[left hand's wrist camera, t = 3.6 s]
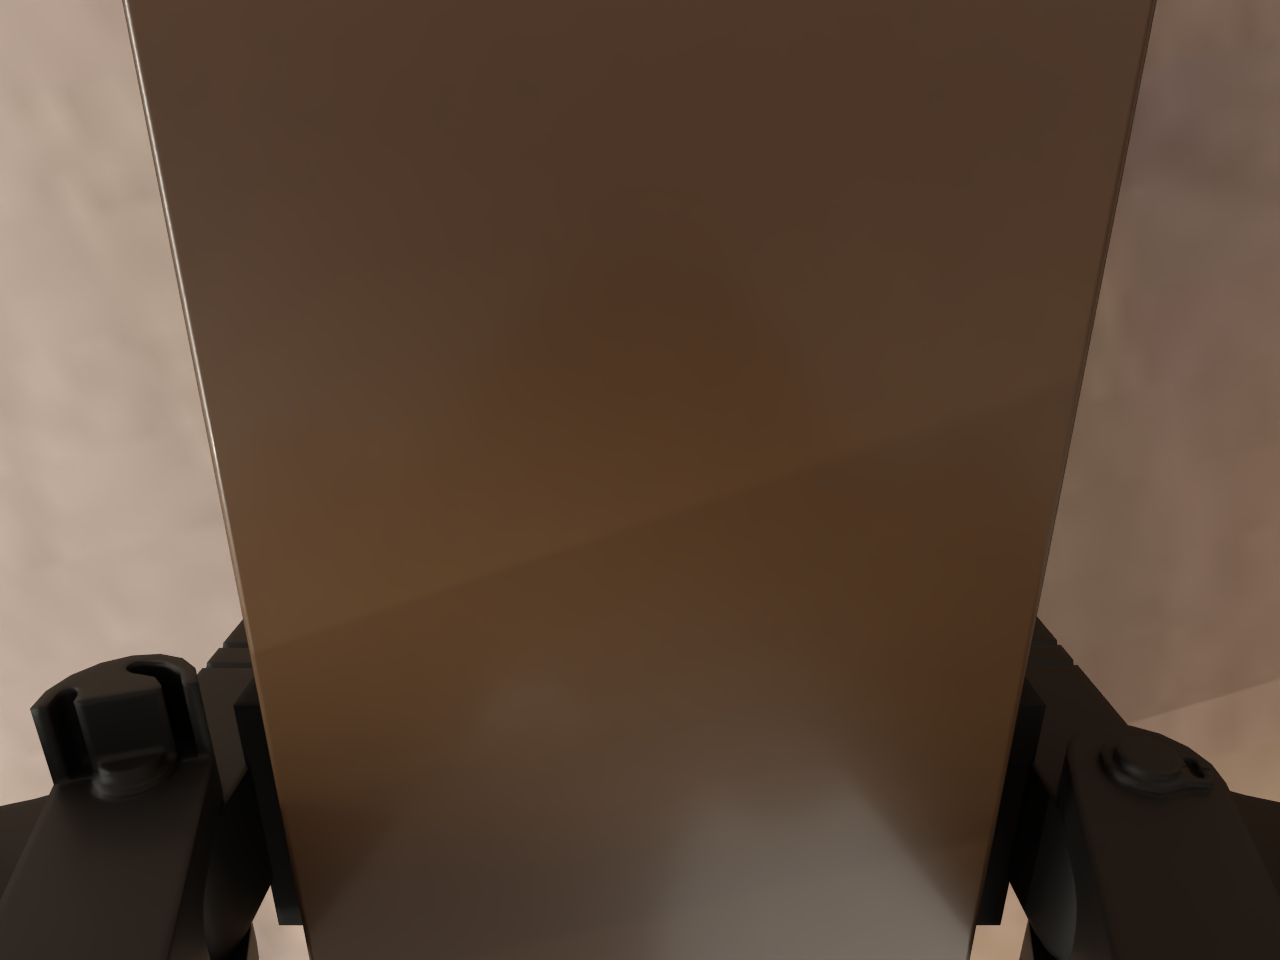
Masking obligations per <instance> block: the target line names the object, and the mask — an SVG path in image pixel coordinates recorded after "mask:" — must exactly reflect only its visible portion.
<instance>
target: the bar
mask: <svg viewBox="0 0 1280 960" xmlns="http://www.w3.org/2000/svg"><path fill="white" fill-rule="evenodd" d="M1156 1H1157V0H122V2H123V7H124V12H125V17H126V22H127V27H128V32H129V38H130V43H131V48H132V53H133V58H134V63H135V68H136V73H137V78H138V84H139V89H140V94H141V99H142V104H143V109H144V114H145V119H146V124H147V130H148V135H149V140H150V145H151V150H152V155H153V160H154V165H155V171H156V176H157V181H158V186H159V191H160V196H161V201H162V206H163V211H164V217H165V222H166V227H167V232H168V237H169V242H170V247H171V252H172V257H173V263H174V268H175V273H176V278H177V283H178V288H179V293H180V298H181V304H182V309H183V314H184V319H185V324H186V329H187V334H188V339H189V344H190V350H191V355H192V360H193V365H194V370H195V375H196V380H197V385H198V390H199V396H200V401H201V406H202V411H203V416H204V421H205V426H206V431H207V437H208V442H209V447H210V452H211V457H212V462H213V467H214V472H215V477H216V483H217V488H218V493H219V498H220V503H221V508H222V513H223V518H224V523H225V529H226V534H227V539H228V544H229V549H230V554H231V559H232V564H233V570H234V575H235V580H236V585H237V590H238V595H239V600H240V605H241V610H242V616H243V621H244V626H245V631H246V636H247V641H248V646H249V651H250V657H251V662H252V667H253V672H254V677H255V682H256V687H257V692H258V697H259V703H260V708H261V713H262V718H263V723H264V728H265V733H266V738H267V743H268V749H269V754H270V759H271V764H272V769H273V774H274V779H275V784H276V790H277V795H278V800H279V805H280V810H281V815H282V820H283V825H284V830H285V836H286V841H287V846H288V851H289V856H290V861H291V866H292V871H293V876H294V882H295V887H296V892H297V897H298V902H299V907H300V912H301V917H302V923H303V928H304V933H305V938H306V943H307V948H308V953H309V958H310V960H970V955H971V950H972V945H973V939H974V934H975V929H976V924H977V919H978V914H979V909H980V904H981V898H982V893H983V888H984V883H985V878H986V873H987V868H988V863H989V857H990V852H991V847H992V842H993V837H994V832H995V827H996V822H997V816H998V811H999V806H1000V801H1001V796H1002V791H1003V786H1004V780H1005V775H1006V770H1007V765H1008V760H1009V755H1010V750H1011V745H1012V739H1013V734H1014V729H1015V724H1016V719H1017V714H1018V709H1019V704H1020V698H1021V693H1022V688H1023V683H1024V678H1025V673H1026V668H1027V663H1028V657H1029V652H1030V647H1031V642H1032V637H1033V632H1034V627H1035V621H1036V616H1037V611H1038V606H1039V601H1040V596H1041V591H1042V586H1043V580H1044V575H1045V570H1046V565H1047V560H1048V555H1049V550H1050V545H1051V539H1052V534H1053V529H1054V524H1055V519H1056V514H1057V509H1058V504H1059V498H1060V493H1061V488H1062V483H1063V478H1064V473H1065V468H1066V463H1067V457H1068V452H1069V447H1070V442H1071V437H1072V432H1073V427H1074V421H1075V416H1076V411H1077V406H1078V401H1079V396H1080V391H1081V386H1082V380H1083V375H1084V370H1085V365H1086V360H1087V355H1088V350H1089V345H1090V339H1091V334H1092V329H1093V324H1094V319H1095V314H1096V309H1097V304H1098V298H1099V293H1100V288H1101V283H1102V278H1103V273H1104V268H1105V262H1106V257H1107V252H1108V247H1109V242H1110V237H1111V232H1112V227H1113V221H1114V216H1115V211H1116V206H1117V201H1118V196H1119V191H1120V186H1121V180H1122V175H1123V170H1124V165H1125V160H1126V155H1127V150H1128V145H1129V139H1130V134H1131V129H1132V124H1133V119H1134V114H1135V109H1136V104H1137V98H1138V93H1139V88H1140V83H1141V78H1142V73H1143V68H1144V62H1145V57H1146V52H1147V47H1148V42H1149V37H1150V32H1151V27H1152V21H1153V16H1154V11H1155V6H1156Z"/></svg>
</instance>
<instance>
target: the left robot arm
mask: <svg viewBox="0 0 1280 960" xmlns="http://www.w3.org/2000/svg"><path fill="white" fill-rule="evenodd" d="M30 710H31V713H32V716H33V719H34V723H35V726H36V729H37V732H38V735H39V739H40V742H41V745H42V748H43V751H44V754H45V758H46V761H47V764H48V767H49V770H50V774H51V777H52V780H53V783H54V786H53V788H52V790H51V792H50V794H49V795H47V796H44V797H40V798H36V799H32V800H27V801H23V802H18V803H13V804H8V805H4V806H0V960H259V955H258V948H257V941H256V936H255V932H254V927H253V923H252V921H253V919H254V917H255V915H256V913H257V911H258V909H259V907H260V905H261V903H262V901H263V899H264V897H265V895H266V893H267V891H268V889H269V887H270V885H271V889H272V893H273V898H274V903H275V908H276V913H277V917H278V922H279V925H303V923H302V917H301V912H300V907H299V902H298V897H297V892H296V887H295V882H294V876H293V871H292V866H291V861H290V856H289V851H288V846H287V841H286V836H285V830H284V825H283V820H282V815H281V810H280V805H279V800H278V795H277V790H276V784H275V779H274V774H273V769H272V764H271V759H270V754H269V749H268V743H267V738H266V733H265V728H264V723H263V718H262V713H261V708H260V703H259V697H258V692H257V687H256V682H255V677H254V672H253V667H252V662H251V657H250V651H249V646H248V641H247V636H246V631H245V626H244V621H243V620H242V621H241V622H240V624H239V625H238V626H237V627H236V628H235V630H234V631H233V632H232V633H231V634H230V636H229V637H228V638H227V639H226V641H225V642H224V643H223V648H219V649H218V650H217V651H216V653H215V654H214V655H213V656H212V657H211V659H210V660H209V661H208V662H207V667H206V668H202V669H201V671H200V672H199V673H198V674H197V673H196V669H195V667H193V666H192V665H191V664H189V663H188V662H187V661H185V660H184V659H183V658H178V657H173V656H168V655H163V654H152V655H135V656H129V657H124V658H120V659H116V660H112V661H107V662H103V663H100V664H97V665H95V666H92V667H90V668H88V669H85V670H83V671H80V672H78V673H75V674H73V675H71V676H69V677H67V678H66V679H64V680H63V681H61V682H60V683H58V684H56V685H55V686H53V687H52V688H50V689H49V690H47V691H46V692H45V693H44V694H43V695H42V696H41V697H40V698H39V699H38V700H37V702H36V703H35V704H34V705H33V706H32V707H31V708H30ZM1009 882H1010V884H1011V886H1012V888H1013V890H1014V892H1015V894H1016V896H1017V898H1018V900H1019V902H1020V904H1021V906H1022V908H1023V910H1024V912H1025V914H1026V916H1027V918H1028V923H1027V927H1026V932H1025V936H1024V941H1023V945H1022V949H1021V954H1020V958H1019V960H1280V802H1275V801H1271V800H1266V799H1261V798H1256V797H1251V796H1247V795H1243V794H1239V793H1235V792H1232V791H1230V790H1229V788H1228V786H1227V784H1226V782H1225V781H1224V780H1223V779H1222V777H1221V776H1220V775H1219V773H1218V772H1217V771H1216V769H1215V768H1214V767H1213V765H1212V764H1211V763H1209V762H1208V761H1206V760H1205V759H1204V758H1202V757H1201V756H1200V755H1198V754H1197V753H1196V752H1194V751H1193V750H1192V749H1190V748H1189V747H1187V746H1185V745H1183V744H1181V743H1179V742H1176V741H1174V740H1172V739H1170V738H1168V737H1166V736H1164V735H1161V734H1159V733H1155V732H1152V731H1148V730H1144V729H1140V728H1137V727H1133V726H1128V725H1127V724H1126V722H1125V721H1124V720H1123V719H1122V718H1121V716H1120V715H1119V714H1118V713H1117V712H1116V710H1115V709H1114V708H1113V707H1112V706H1111V705H1110V703H1109V702H1108V701H1107V700H1106V699H1105V697H1104V696H1103V695H1102V694H1101V693H1100V691H1099V690H1098V689H1097V688H1096V687H1095V685H1094V684H1093V683H1092V682H1091V681H1090V679H1089V678H1088V677H1087V676H1086V675H1085V673H1084V672H1083V671H1082V670H1081V669H1080V667H1079V666H1078V665H1074V664H1073V659H1072V658H1071V657H1070V655H1069V654H1068V653H1067V652H1066V651H1065V649H1064V648H1063V647H1062V646H1061V645H1057V640H1056V639H1055V638H1054V636H1053V635H1052V634H1051V633H1050V632H1049V630H1048V629H1047V628H1046V627H1045V626H1044V624H1043V623H1042V622H1041V621H1040V620H1039V618H1038V617H1037V616H1036V621H1035V627H1034V632H1033V637H1032V642H1031V647H1030V652H1029V657H1028V663H1027V668H1026V673H1025V678H1024V683H1023V688H1022V693H1021V698H1020V704H1019V709H1018V714H1017V719H1016V724H1015V729H1014V734H1013V739H1012V745H1011V750H1010V755H1009V760H1008V765H1007V770H1006V775H1005V780H1004V786H1003V791H1002V796H1001V801H1000V806H999V811H998V816H997V822H996V827H995V832H994V837H993V842H992V847H991V852H990V857H989V863H988V868H987V873H986V878H985V883H984V888H983V893H982V898H981V904H980V909H979V914H978V919H977V924H976V925H1000V924H1001V919H1002V915H1003V910H1004V905H1005V900H1006V895H1007V891H1008V886H1009Z"/></svg>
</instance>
